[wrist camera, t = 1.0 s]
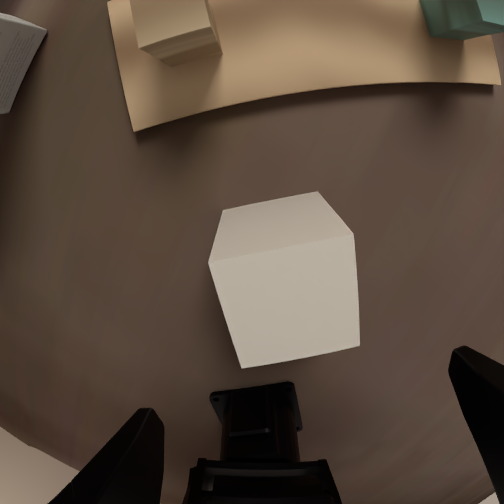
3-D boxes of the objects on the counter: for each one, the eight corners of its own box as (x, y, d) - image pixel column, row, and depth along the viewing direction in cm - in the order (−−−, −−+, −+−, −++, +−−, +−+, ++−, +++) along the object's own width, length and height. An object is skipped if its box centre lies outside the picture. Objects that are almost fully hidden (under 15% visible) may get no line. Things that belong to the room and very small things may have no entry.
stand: (493, 84, 14) (556, 87, 8) (138, 131, 16) (88, 140, 10) (464, -24, 11) (516, -46, 5) (112, 6, 12) (62, -27, 7)
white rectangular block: (328, 275, 19) (359, 345, 13) (244, 291, 19) (241, 368, 13) (317, 191, 17) (353, 233, 11) (223, 210, 17) (208, 262, 11)
